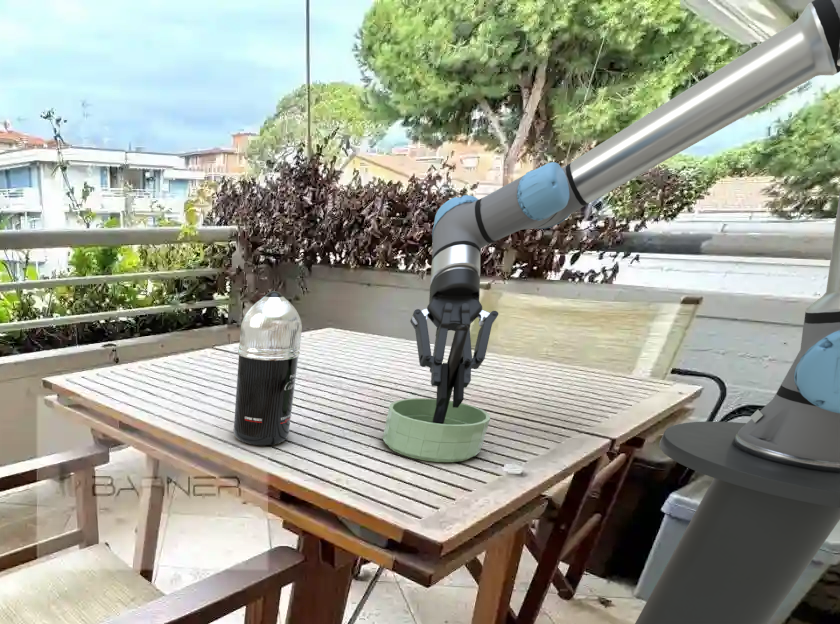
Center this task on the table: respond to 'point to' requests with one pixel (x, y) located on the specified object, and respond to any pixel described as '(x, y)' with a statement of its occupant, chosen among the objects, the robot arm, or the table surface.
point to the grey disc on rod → (452, 370)
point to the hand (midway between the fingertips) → (449, 402)
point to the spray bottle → (267, 371)
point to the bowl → (435, 430)
